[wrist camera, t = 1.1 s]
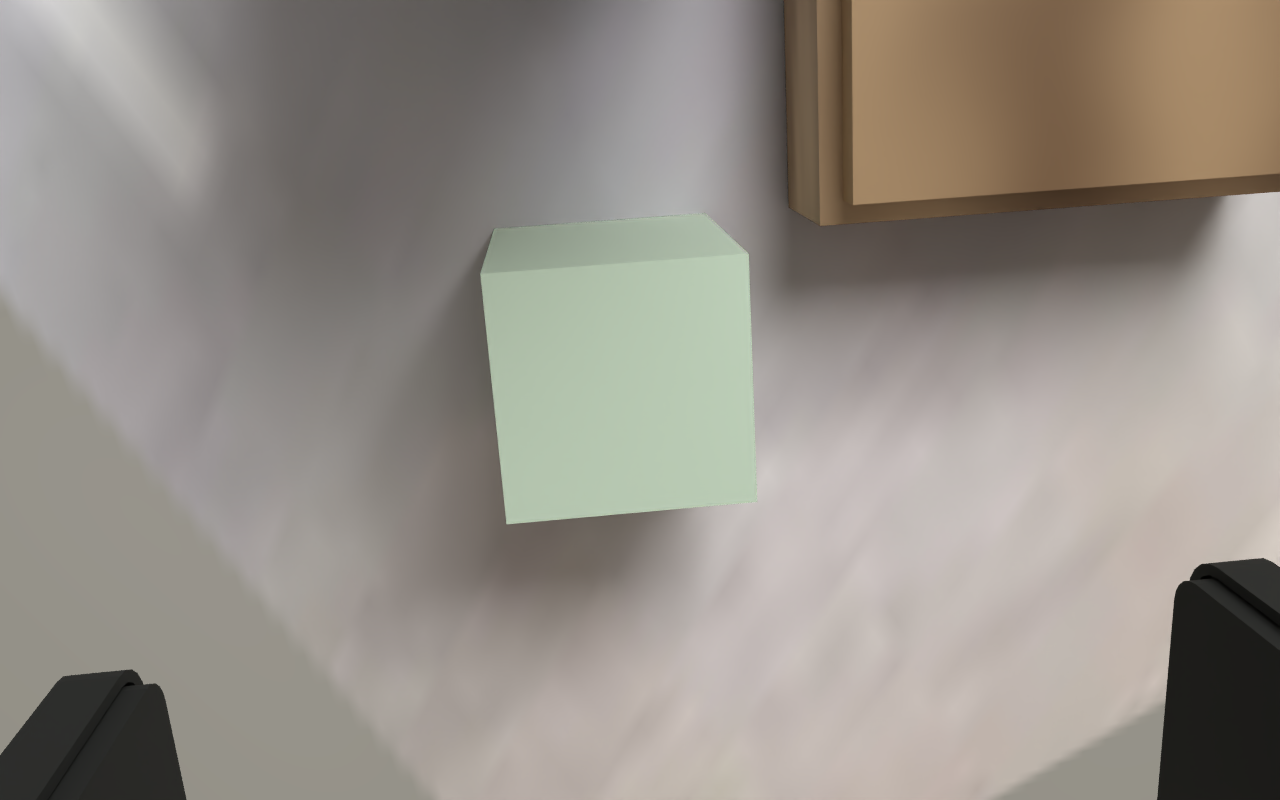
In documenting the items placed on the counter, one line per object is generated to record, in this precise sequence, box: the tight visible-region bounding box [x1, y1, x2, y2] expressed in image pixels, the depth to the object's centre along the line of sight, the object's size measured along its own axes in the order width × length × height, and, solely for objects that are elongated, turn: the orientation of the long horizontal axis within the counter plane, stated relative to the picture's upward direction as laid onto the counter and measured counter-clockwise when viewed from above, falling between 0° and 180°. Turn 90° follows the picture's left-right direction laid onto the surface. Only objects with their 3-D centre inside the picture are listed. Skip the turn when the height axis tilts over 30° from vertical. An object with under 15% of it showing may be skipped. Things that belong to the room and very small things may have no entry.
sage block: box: [480, 213, 757, 524], centre depth 24 cm, size 5×5×6 cm
